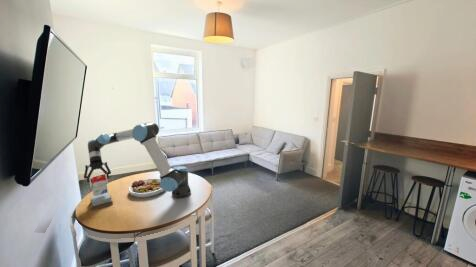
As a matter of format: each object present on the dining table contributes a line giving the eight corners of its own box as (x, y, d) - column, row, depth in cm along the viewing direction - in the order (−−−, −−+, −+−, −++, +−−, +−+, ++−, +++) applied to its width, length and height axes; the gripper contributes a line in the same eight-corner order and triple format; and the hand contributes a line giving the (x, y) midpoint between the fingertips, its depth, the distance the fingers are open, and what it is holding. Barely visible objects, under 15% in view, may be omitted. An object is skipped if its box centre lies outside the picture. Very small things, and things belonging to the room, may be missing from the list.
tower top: (111, 201, 152) (110, 197, 151) (93, 206, 145) (92, 202, 144) (108, 195, 160) (107, 192, 159) (91, 200, 153) (90, 196, 152)
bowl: (173, 184, 188) (172, 176, 186) (156, 200, 158) (156, 190, 157) (142, 182, 191) (141, 174, 189) (121, 198, 161) (120, 189, 160)
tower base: (112, 205, 152) (112, 201, 151) (91, 211, 144) (91, 207, 143) (111, 198, 162) (110, 194, 161) (91, 203, 154) (90, 199, 154)
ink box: (105, 190, 156) (103, 172, 154) (107, 192, 153) (105, 174, 151) (92, 194, 150) (89, 175, 147) (94, 196, 147) (92, 177, 144)
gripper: (112, 158, 166) (116, 182, 156) (78, 163, 153) (80, 190, 144) (112, 153, 161) (116, 178, 151) (76, 158, 148) (79, 186, 138)
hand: (99, 184), depth 147 cm, fingers closed on ink box, 9 cm apart
